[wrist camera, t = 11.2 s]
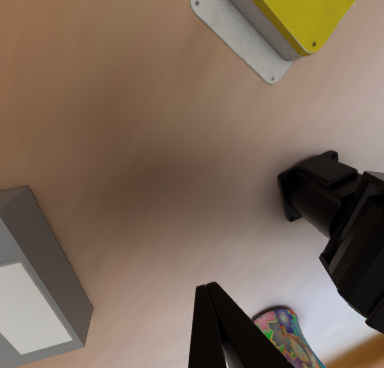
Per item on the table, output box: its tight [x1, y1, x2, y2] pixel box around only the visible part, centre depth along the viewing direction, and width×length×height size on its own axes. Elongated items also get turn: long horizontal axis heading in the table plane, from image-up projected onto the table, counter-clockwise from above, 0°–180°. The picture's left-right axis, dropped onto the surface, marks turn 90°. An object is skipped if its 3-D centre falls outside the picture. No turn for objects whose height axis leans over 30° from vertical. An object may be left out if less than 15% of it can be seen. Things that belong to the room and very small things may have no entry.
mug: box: [254, 309, 326, 368], centre depth 28 cm, size 12×9×11 cm
